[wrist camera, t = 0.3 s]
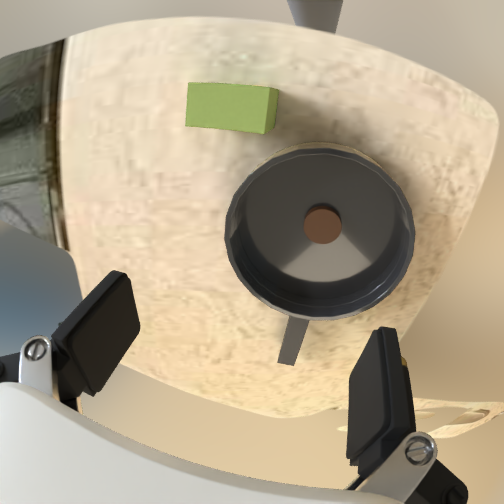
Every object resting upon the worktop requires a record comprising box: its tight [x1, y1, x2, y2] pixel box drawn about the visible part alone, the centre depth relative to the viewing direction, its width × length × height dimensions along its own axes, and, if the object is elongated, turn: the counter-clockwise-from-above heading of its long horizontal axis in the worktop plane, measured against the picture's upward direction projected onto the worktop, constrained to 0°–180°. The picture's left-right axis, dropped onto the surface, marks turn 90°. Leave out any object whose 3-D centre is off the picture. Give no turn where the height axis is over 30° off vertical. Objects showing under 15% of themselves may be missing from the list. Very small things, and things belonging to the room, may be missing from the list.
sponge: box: [185, 83, 279, 134], centre depth 24 cm, size 4×7×6 cm, turn 84°
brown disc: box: [304, 206, 342, 244], centre depth 30 cm, size 4×4×1 cm
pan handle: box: [278, 316, 309, 366], centre depth 37 cm, size 10×2×2 cm, turn 174°
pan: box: [224, 142, 415, 320], centre depth 29 cm, size 19×19×4 cm
